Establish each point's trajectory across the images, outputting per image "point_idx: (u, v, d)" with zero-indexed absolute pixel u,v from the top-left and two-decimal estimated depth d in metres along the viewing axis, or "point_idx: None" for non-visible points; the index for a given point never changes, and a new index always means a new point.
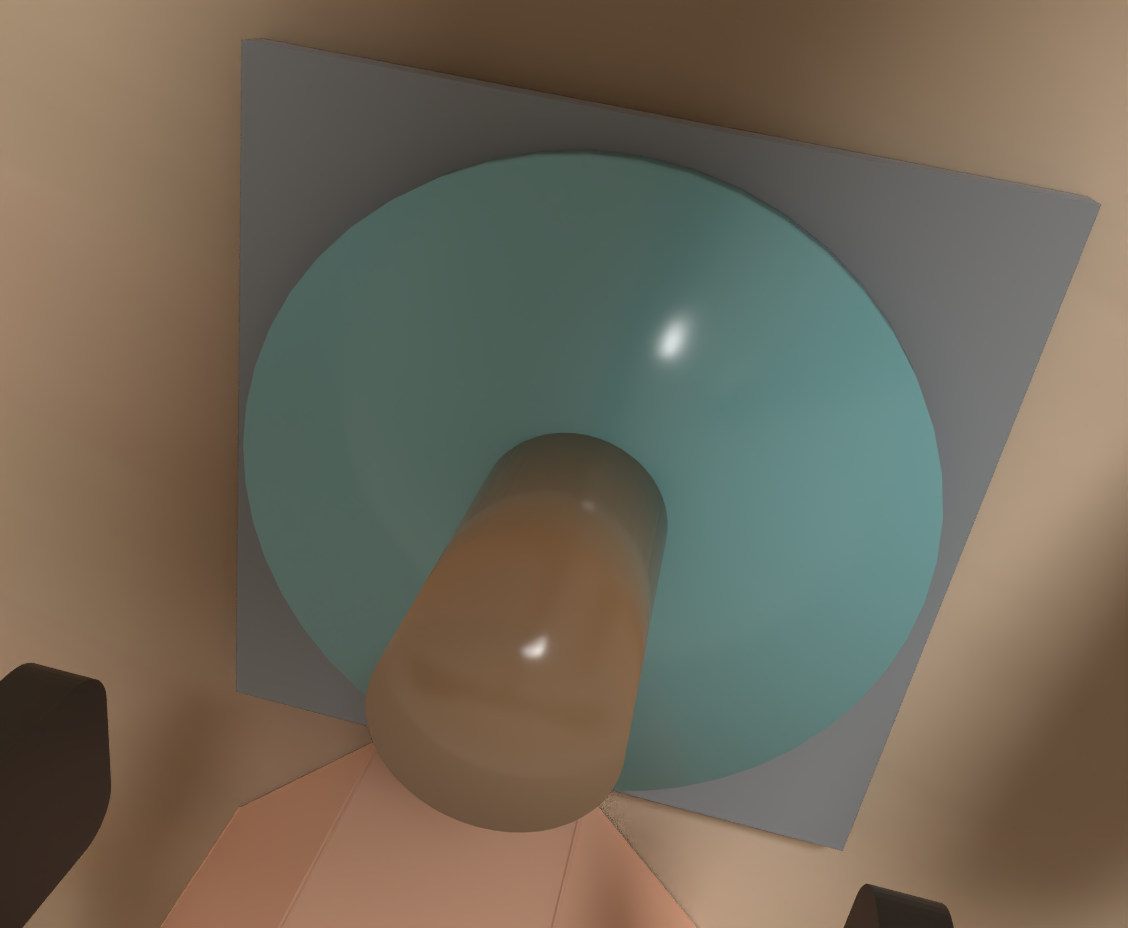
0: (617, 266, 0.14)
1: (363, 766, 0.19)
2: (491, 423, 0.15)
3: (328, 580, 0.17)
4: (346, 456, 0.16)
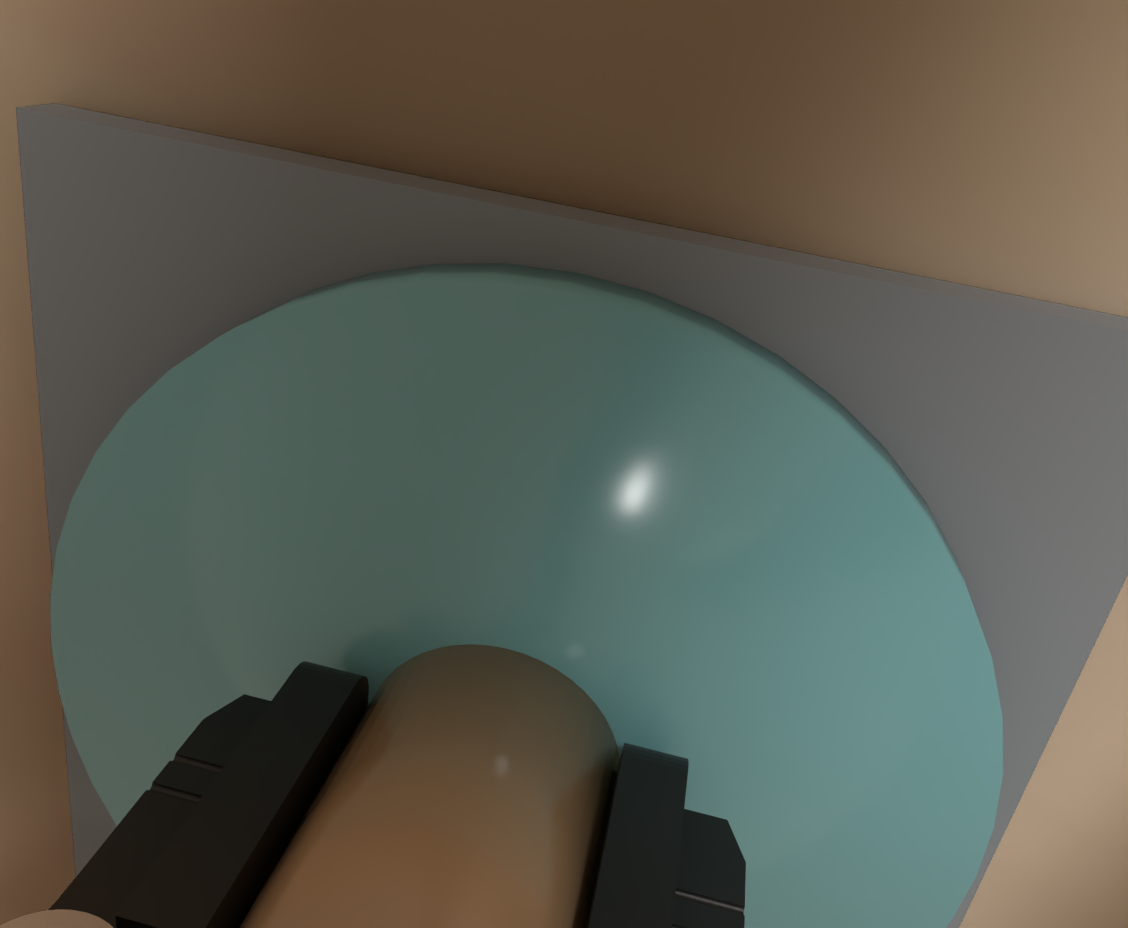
0: (538, 430, 0.10)
1: None
2: (376, 629, 0.11)
3: None
4: (186, 663, 0.12)
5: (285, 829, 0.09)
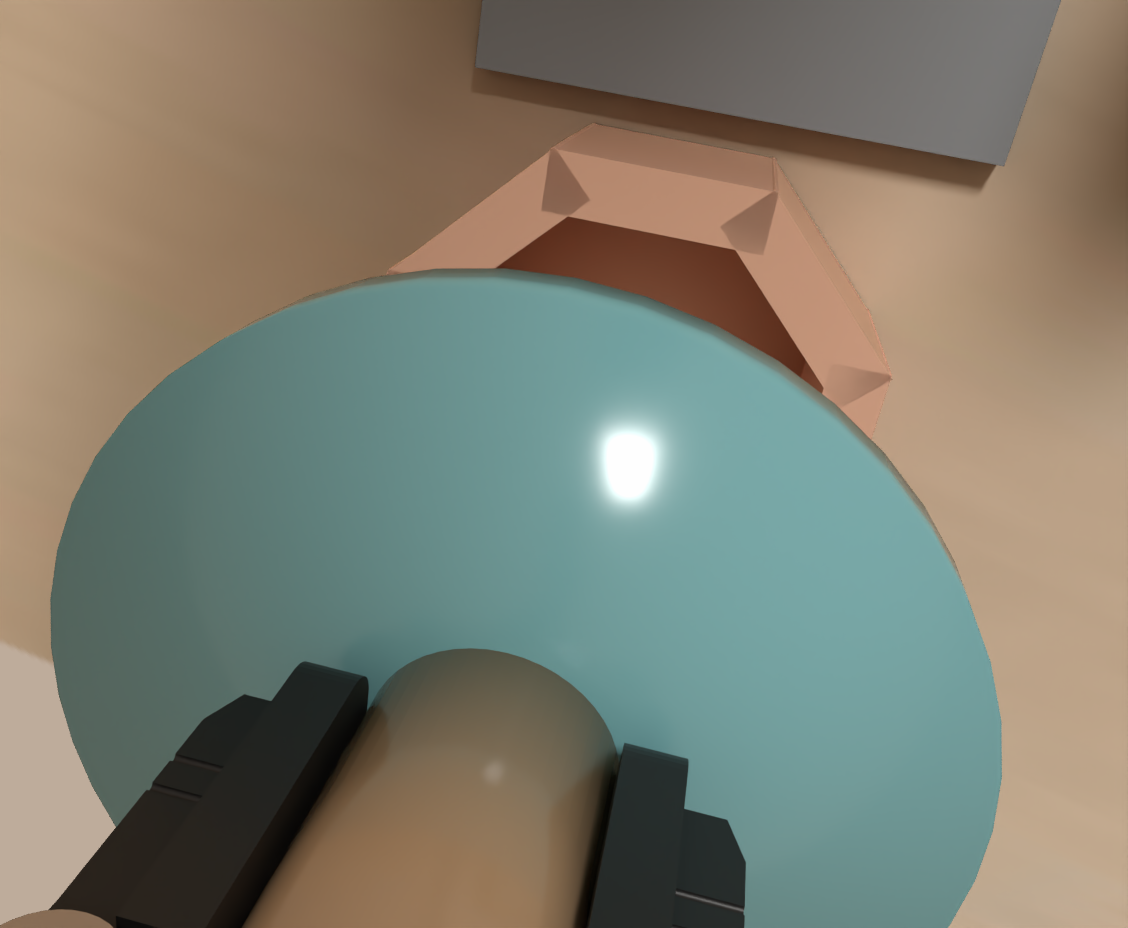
0: (537, 434, 0.10)
1: None
2: (375, 633, 0.11)
3: None
4: (186, 667, 0.12)
5: (285, 829, 0.09)
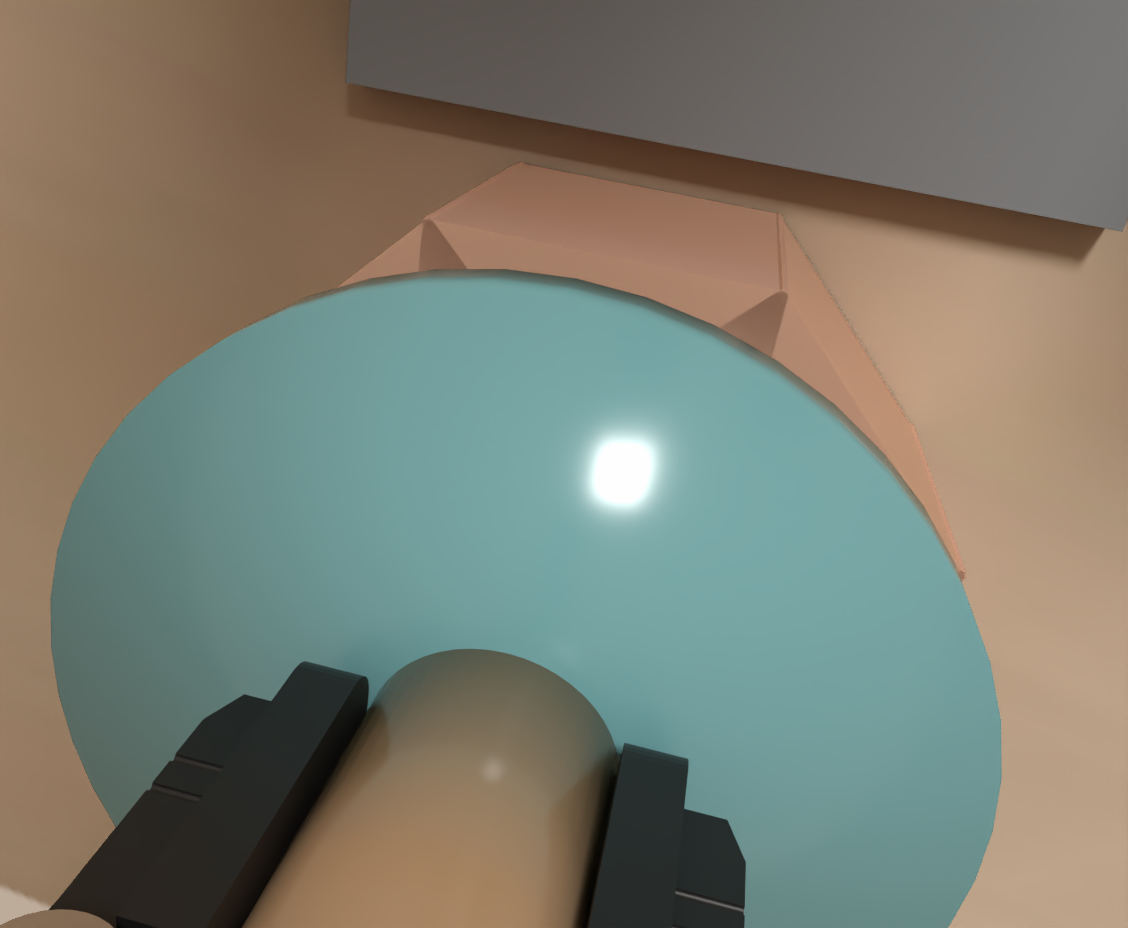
0: (538, 435, 0.10)
1: (505, 172, 0.16)
2: (375, 633, 0.11)
3: None
4: (186, 667, 0.12)
5: (285, 829, 0.09)
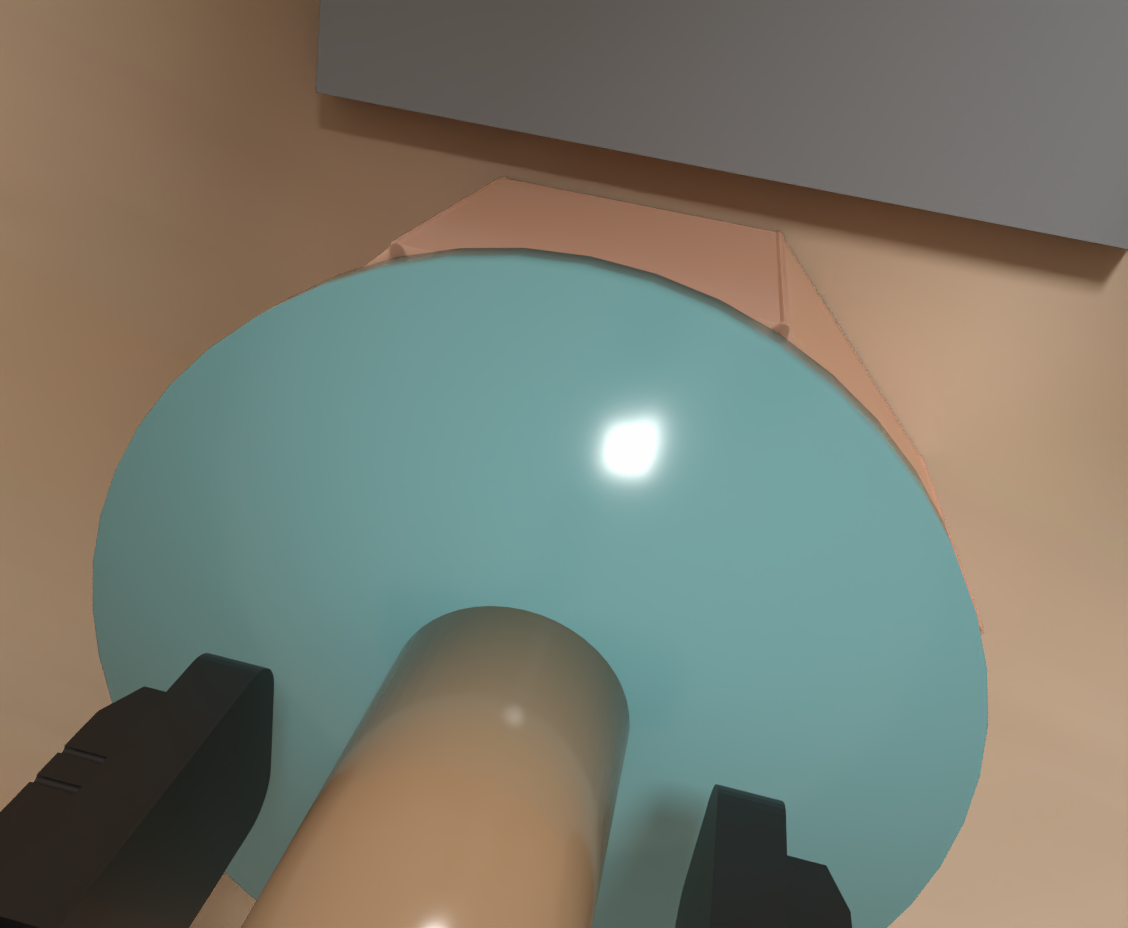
0: (555, 402, 0.10)
1: (486, 189, 0.15)
2: (401, 592, 0.12)
3: None
4: (221, 626, 0.12)
5: (168, 822, 0.09)
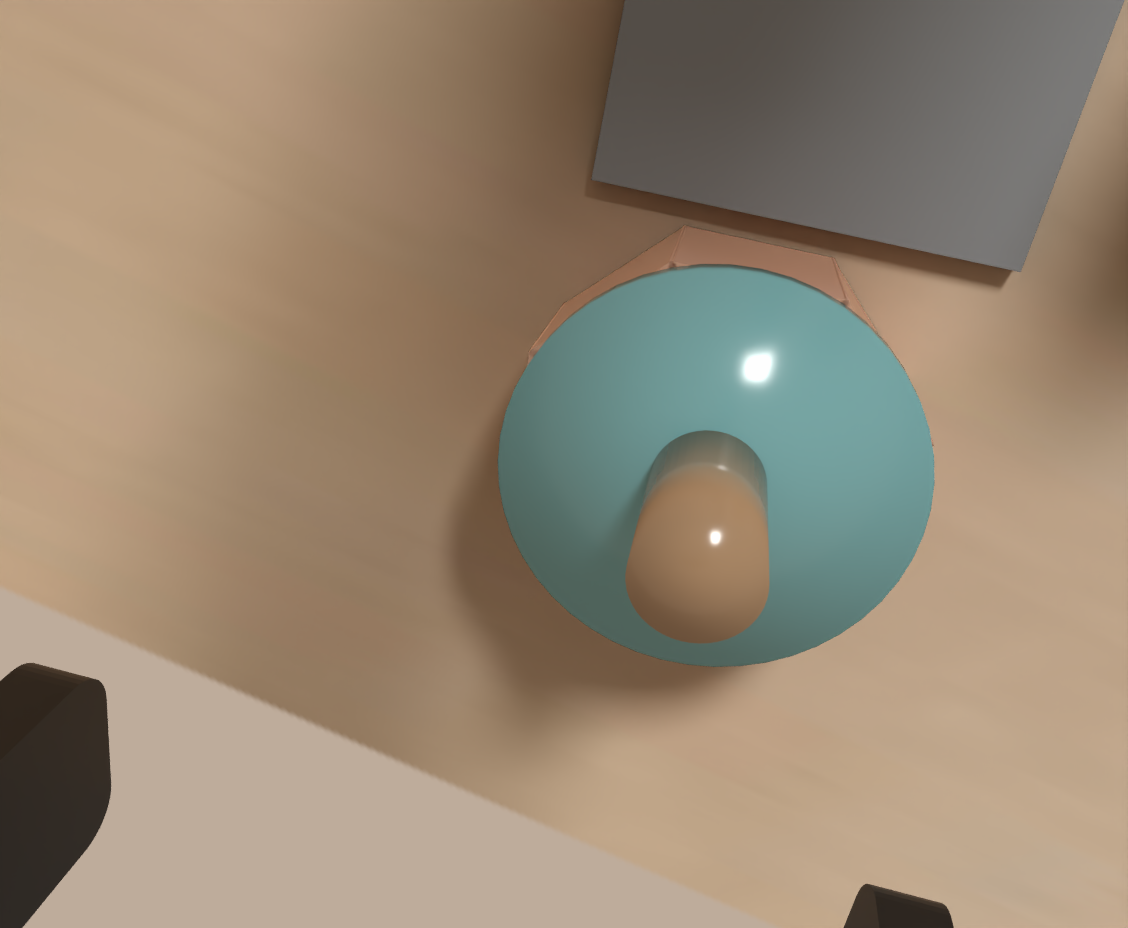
0: (746, 332, 0.24)
1: (680, 232, 0.28)
2: (661, 424, 0.25)
3: (544, 524, 0.27)
4: (566, 444, 0.26)
5: None
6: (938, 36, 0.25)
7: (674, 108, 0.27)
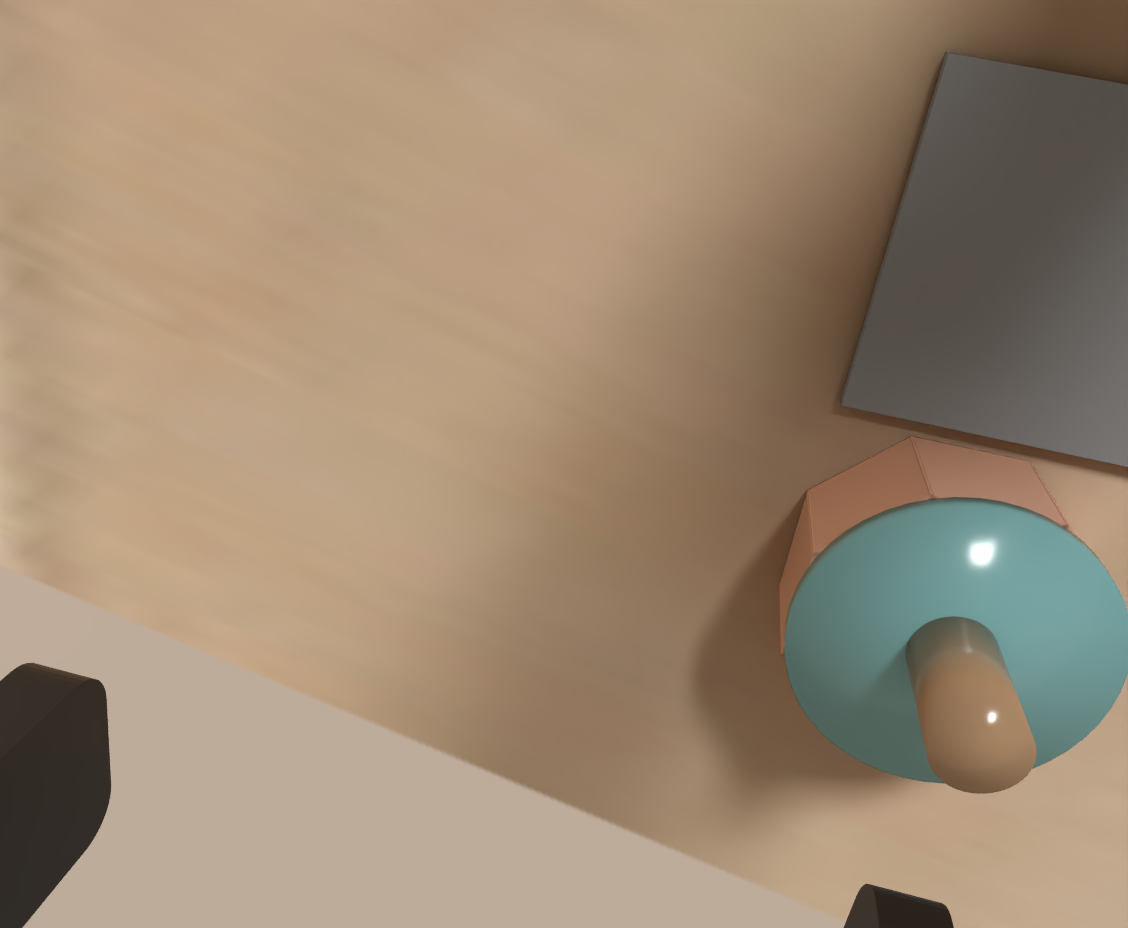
0: (992, 550, 0.32)
1: (912, 445, 0.36)
2: (919, 611, 0.33)
3: (818, 679, 0.35)
4: (842, 623, 0.34)
5: None
6: (1126, 312, 0.33)
7: (913, 357, 0.35)
